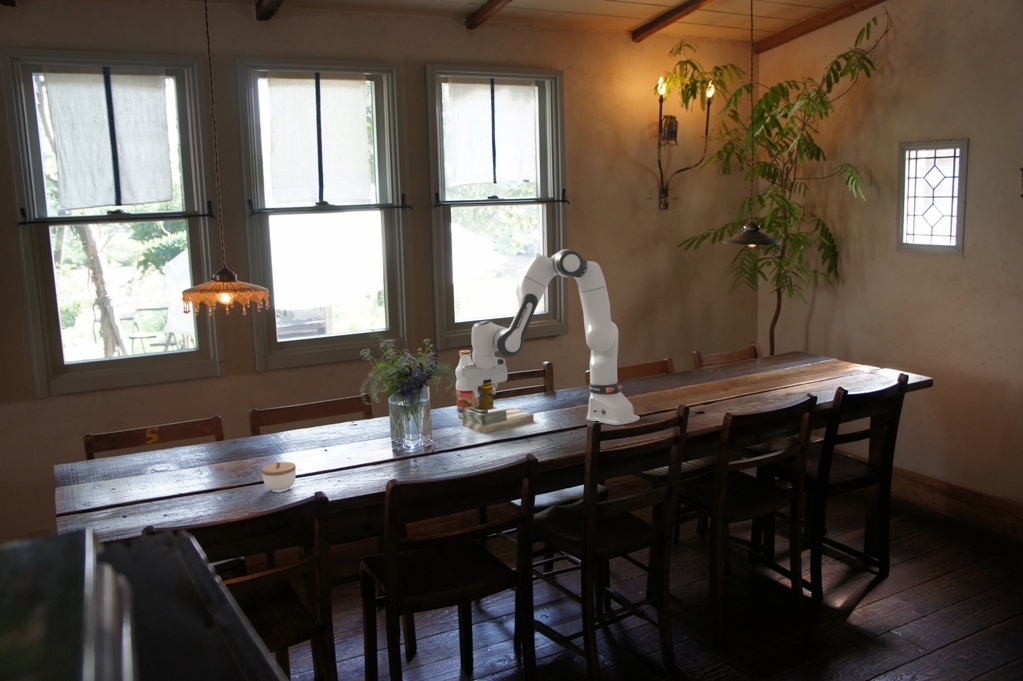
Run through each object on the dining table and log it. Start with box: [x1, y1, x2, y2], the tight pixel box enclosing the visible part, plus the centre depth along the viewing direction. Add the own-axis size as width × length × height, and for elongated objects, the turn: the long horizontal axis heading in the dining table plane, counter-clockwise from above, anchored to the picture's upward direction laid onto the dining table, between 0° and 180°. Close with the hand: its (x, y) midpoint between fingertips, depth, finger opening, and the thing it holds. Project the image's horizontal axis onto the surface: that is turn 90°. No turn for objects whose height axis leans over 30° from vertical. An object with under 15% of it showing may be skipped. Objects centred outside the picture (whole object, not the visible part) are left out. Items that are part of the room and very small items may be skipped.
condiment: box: [471, 379, 497, 412], centre depth 340 cm, size 7×8×12 cm
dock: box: [461, 406, 535, 434], centre depth 345 cm, size 16×24×7 cm, turn 126°
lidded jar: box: [261, 461, 297, 491], centre depth 278 cm, size 11×11×9 cm
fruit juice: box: [454, 349, 478, 419], centre depth 358 cm, size 9×9×28 cm
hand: (485, 395), depth 341 cm, fingers closed on condiment, 6 cm apart
